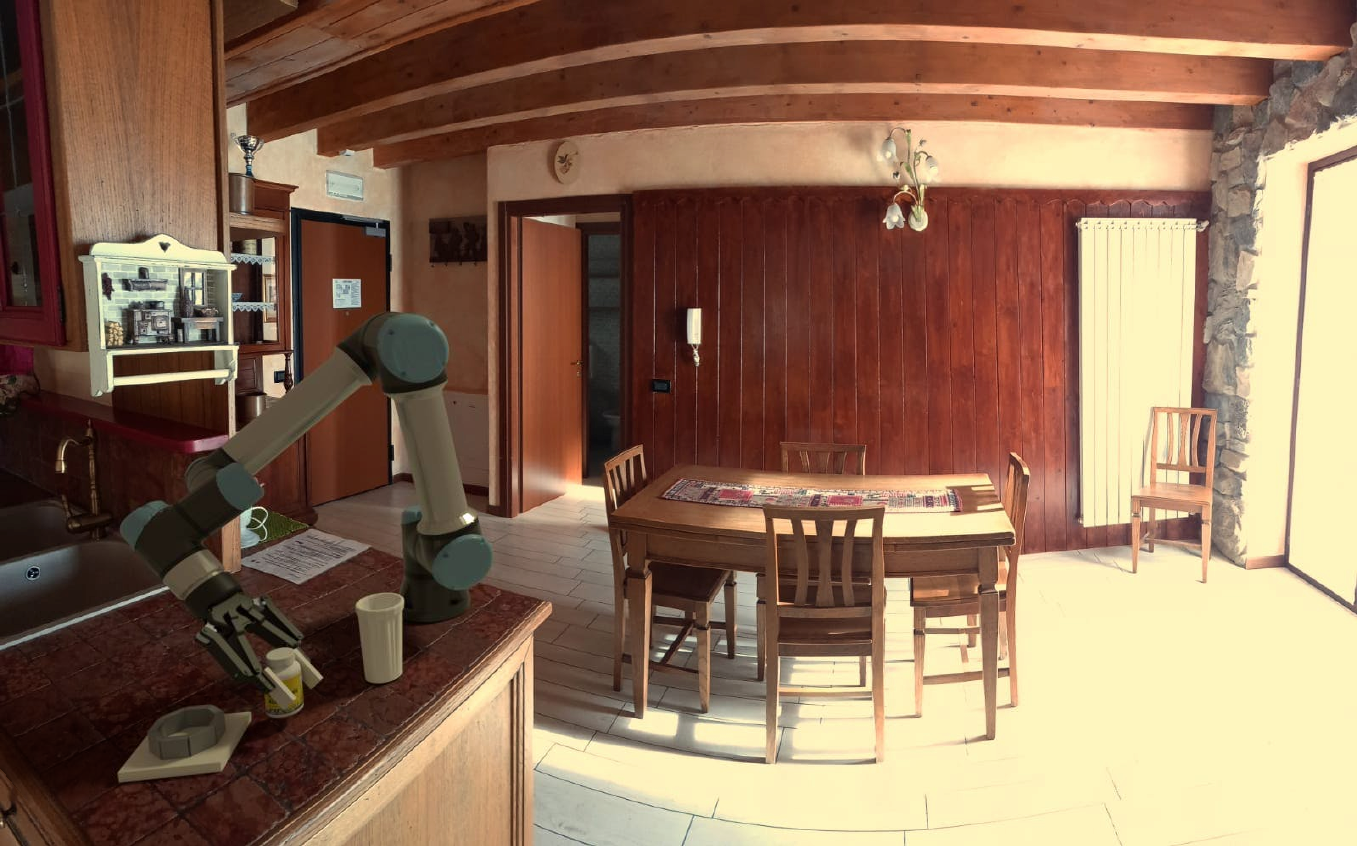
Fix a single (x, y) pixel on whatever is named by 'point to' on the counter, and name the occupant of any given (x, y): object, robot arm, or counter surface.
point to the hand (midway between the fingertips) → (303, 693)
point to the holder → (186, 744)
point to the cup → (381, 635)
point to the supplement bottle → (285, 681)
